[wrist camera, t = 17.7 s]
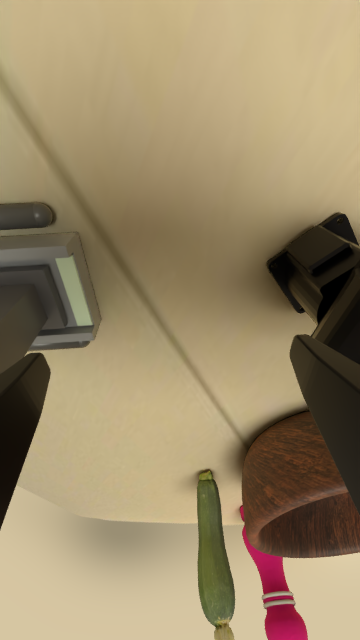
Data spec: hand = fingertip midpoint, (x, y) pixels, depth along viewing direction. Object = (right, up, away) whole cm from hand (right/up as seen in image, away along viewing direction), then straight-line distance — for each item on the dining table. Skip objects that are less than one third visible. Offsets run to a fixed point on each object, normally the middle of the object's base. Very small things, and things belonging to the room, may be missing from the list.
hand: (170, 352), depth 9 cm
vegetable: (+4, -24, +33) cm, 41 cm away
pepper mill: (+15, -36, +43) cm, 58 cm away
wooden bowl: (+20, -18, +30) cm, 41 cm away
